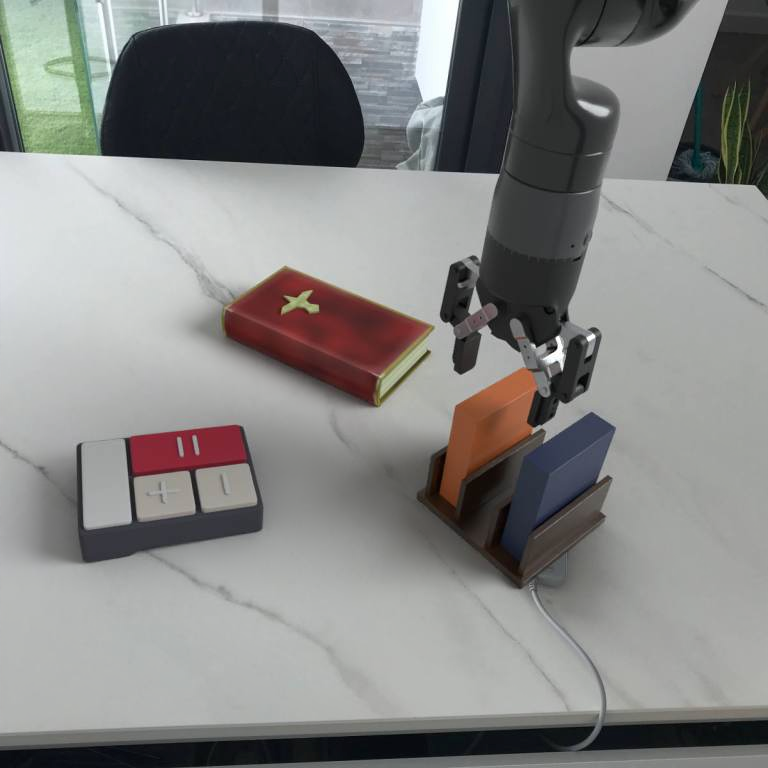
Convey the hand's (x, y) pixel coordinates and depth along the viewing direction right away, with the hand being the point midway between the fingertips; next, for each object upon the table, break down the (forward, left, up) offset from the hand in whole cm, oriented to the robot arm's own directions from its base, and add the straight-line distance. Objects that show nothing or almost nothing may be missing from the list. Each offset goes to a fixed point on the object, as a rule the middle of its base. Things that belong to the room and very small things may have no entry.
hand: (499, 395), depth 67 cm
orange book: (0, 0, -11) cm, 11 cm away
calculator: (+16, +24, -12) cm, 31 cm away
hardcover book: (+26, -2, -12) cm, 29 cm away
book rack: (-4, 0, -12) cm, 12 cm away
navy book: (-8, 0, -11) cm, 13 cm away
